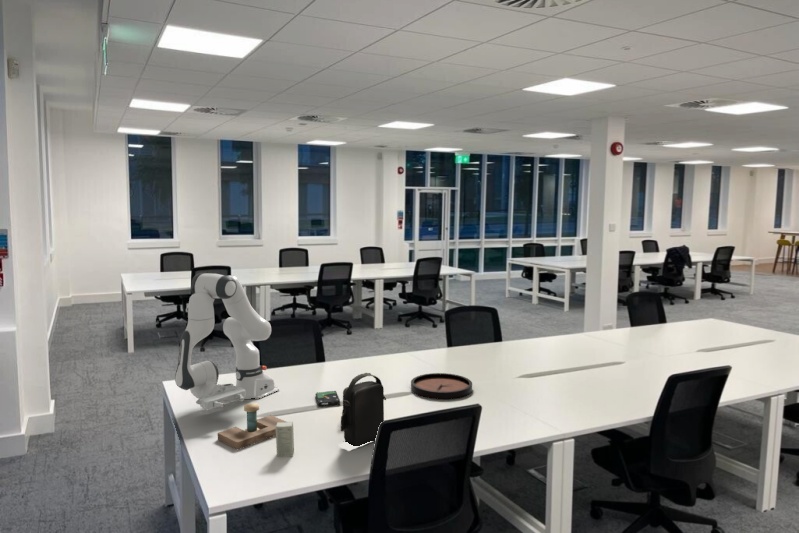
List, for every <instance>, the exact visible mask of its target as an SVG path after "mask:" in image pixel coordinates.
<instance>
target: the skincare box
mask: <svg viewBox="0 0 799 533" xmlns="http://www.w3.org/2000/svg"><path fill="white" fill-rule="evenodd" d="M294 436H295V434H294V422H293V421H286V422H277V424H276V436H275V439H276V440H275V441H276V442H275V444H276V446H275V447H276V457H277V456H283V457H293V456H294V454H295V441H294V440H295V439H294V438H295V437H294Z"/></svg>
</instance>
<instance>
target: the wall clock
mask: <svg viewBox="0 0 799 533" xmlns="http://www.w3.org/2000/svg"><path fill="white" fill-rule="evenodd" d="M410 391H411V392H412V393H413V394H414V395H416V396H418V397H421V398H424V399H430V400H437V401H438V400H439V401H443V400H444V401H445V400H447V401H449V400H458V399H459V400H460V399H462V398H466V397H468V396H469V395H471V394H472V393H473V381H472V380H470V378H467V377H465V376H463V375H459V374H454V373H443V372H442V373H441V372H433V373H425V374H421V375H417V376H415V377H413V378H412V379H411V381H410Z"/></svg>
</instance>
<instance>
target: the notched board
mask: <svg viewBox="0 0 799 533" xmlns="http://www.w3.org/2000/svg"><path fill="white" fill-rule="evenodd" d="M277 422H287V421H286V420H284V419H281V418H278V417H276V416H273V415H272V414H270V415H267V416H263V417H261V418H258V419H257V428H259V429H260V430H258V431H255V432H252V433H248V432H246V431H245V429H242V428H240V427H237V426H234V427H231V428H228V429H224V430H222V431H219V432H217V441H219V442H221V443H223V444H225V445H227V446H229V447H232V448H233V449H235V450H237V449H238V450H241V449H244V448H247V447H249V446H252V445H254V443H255V444H258V443H260V442H263V441H266V440H268V439H270V437H271V438H274V437H276V424H277ZM273 436H274V437H273ZM265 439H266V440H265ZM262 440H263V441H262ZM251 444H252V445H251ZM248 445H249V446H248ZM246 446H247V447H246ZM243 447H244V448H243ZM240 448H241V449H240Z"/></svg>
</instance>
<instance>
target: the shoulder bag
mask: <svg viewBox="0 0 799 533" xmlns="http://www.w3.org/2000/svg"><path fill="white" fill-rule="evenodd" d="M366 377H373V378H374V379H375V381H372V380H371V381H370V380H368V381H362V382H359V381H360V380H361V379H363V378H366ZM358 382H359V383H358ZM384 390H385V388H384V385H383V384H382V381H381V379H380V378H379V377H378V376H376V375H373V374H372V373H371V372H364V373H361V374H357V376H354V377H353V378H352V380H351V381H350V383H349V385H348V387H347V386H346V387H345V388H344V389H343V390H342V391H343V392H342V412H341V416H340V431H341V432H343V439H344V441H345V442H348V443H349V444H351V445H353V446H360V445H362V444H365V443H367V442H370V441H374V442H372V443H373V444H374V443H375V442H376V441H375V438H376V435H377V431H378V427H379V425H380V423H381V422H383V421H384V422H385V406H384V405H385V404H384V401H387V397H386V396H385V395H384V394H385V393H384V392H385V391H384ZM372 443H371V444H372Z"/></svg>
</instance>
